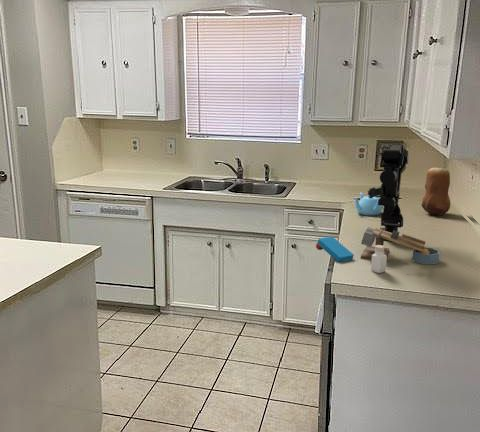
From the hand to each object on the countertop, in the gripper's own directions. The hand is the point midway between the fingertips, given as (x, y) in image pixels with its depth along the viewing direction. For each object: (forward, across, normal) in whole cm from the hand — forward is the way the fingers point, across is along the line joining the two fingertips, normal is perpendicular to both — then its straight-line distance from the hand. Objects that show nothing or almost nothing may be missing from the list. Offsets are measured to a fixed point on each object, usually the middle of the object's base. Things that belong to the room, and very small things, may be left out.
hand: (387, 218), depth 198 cm
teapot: (+13, -60, -18) cm, 63 cm away
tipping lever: (+11, +9, +3) cm, 14 cm away
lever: (+14, +15, -19) cm, 28 cm away
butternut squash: (+13, -70, +16) cm, 73 cm away
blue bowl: (+13, +9, +16) cm, 22 cm away
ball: (+10, +9, +15) cm, 20 cm away
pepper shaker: (+13, +28, +1) cm, 31 cm away
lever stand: (+13, +9, -3) cm, 16 cm away
